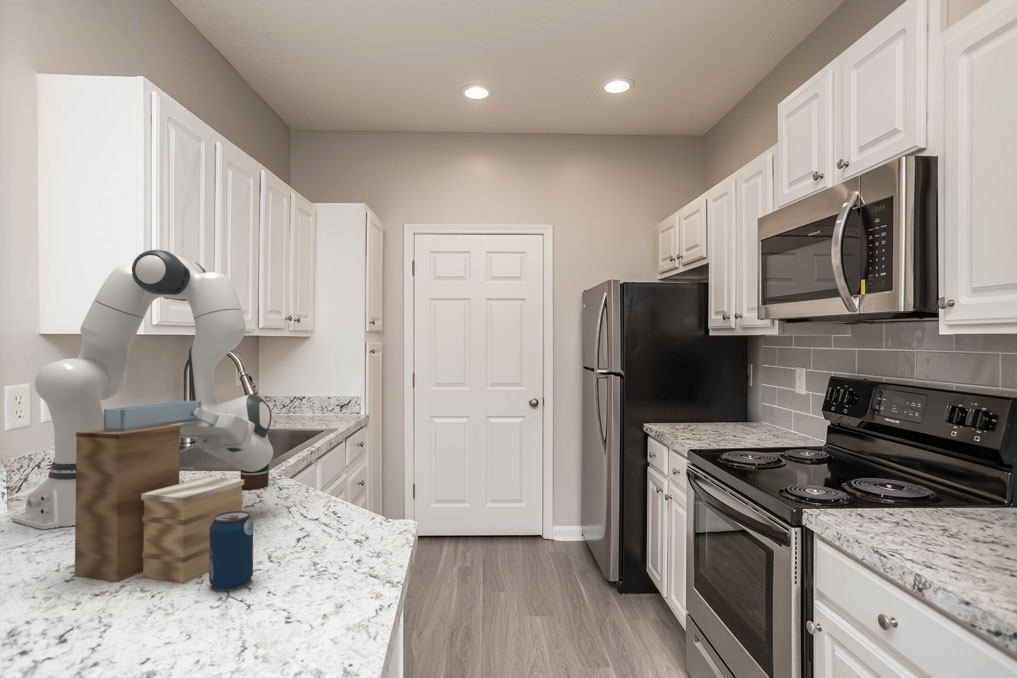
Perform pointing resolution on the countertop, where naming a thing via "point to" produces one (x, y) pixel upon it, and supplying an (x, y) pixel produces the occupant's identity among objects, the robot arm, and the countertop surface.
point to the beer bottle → (255, 478)
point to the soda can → (231, 550)
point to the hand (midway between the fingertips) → (175, 410)
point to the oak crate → (184, 525)
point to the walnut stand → (118, 495)
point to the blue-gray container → (149, 415)
